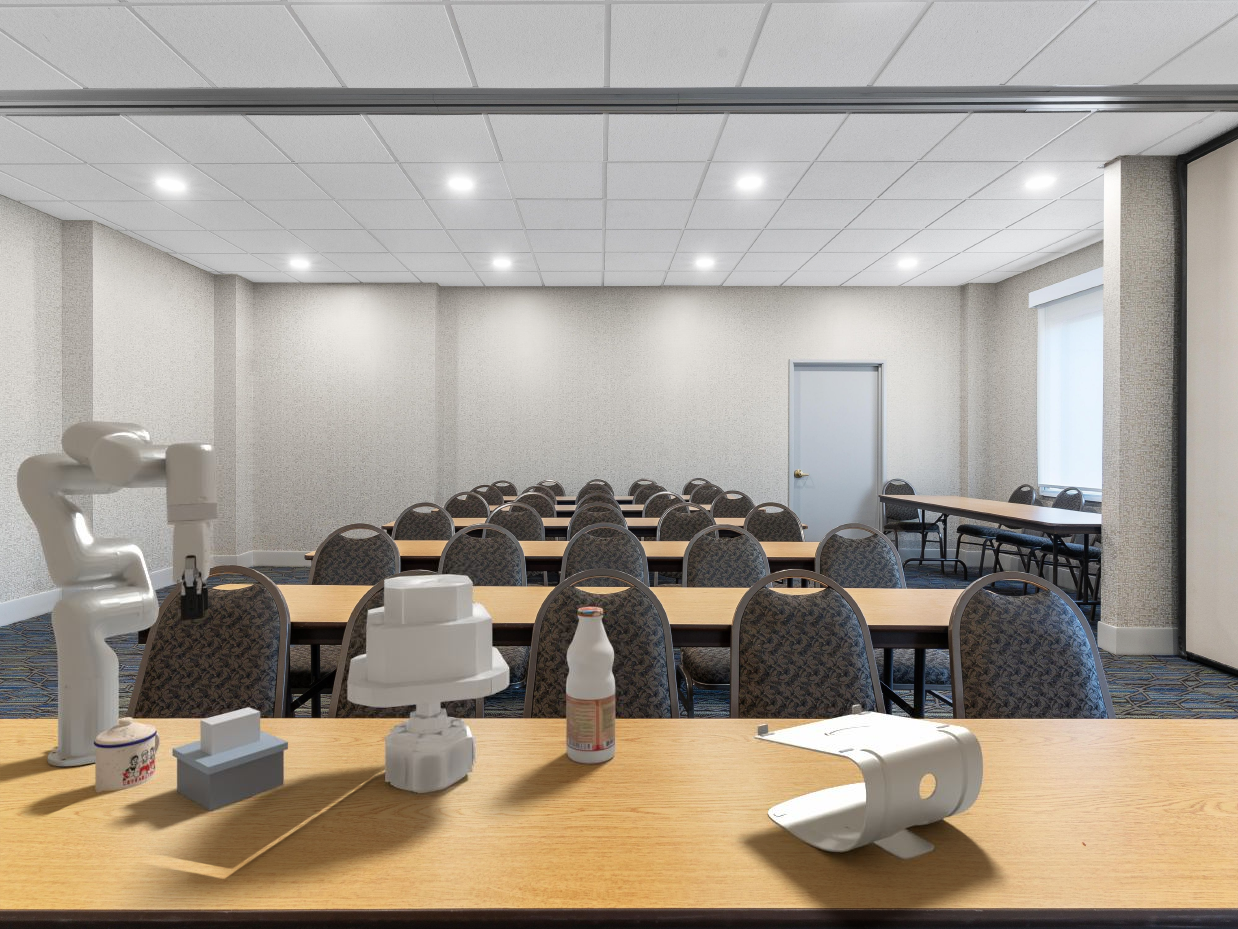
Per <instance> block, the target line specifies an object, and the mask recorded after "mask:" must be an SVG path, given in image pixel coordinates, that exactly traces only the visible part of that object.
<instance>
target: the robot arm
mask: <svg viewBox="0 0 1238 929" xmlns="http://www.w3.org/2000/svg"><path fill="white" fill-rule="evenodd" d="M150 434H151V433H149V432H148V430H147V429H146V428H145V427H144V426H142V425H140V424H137V423H133V422H132V423H131V422H117V421H101V420H100V421H97V420H95V421H94V420H89V421H88V420H87V421H79V422H77V423H74V424H73V425H71V426H69V427H68V428H66V430H64V432H63V434H62V435H61V436H62V437H61V440H60V441H61V447H62V449H63V452H52V453H51V452H50V453H49V452H48V453H42V454H41V453H40V454H37V455H36V454H34V455H32V456H30V457H27V458H26V459H24V460H23V461H22V462H21V464H19V466H18V470H17V473H16V474H17V475H16V488H17V492H18V497H19V499H20V502H21V504H22V506H23V508H24V510H25V511H26V513H27V514H28V516H29V518H30V519H31V521H32V522H33V524H34V526H35V528H36V531H37V533H38V537H39V542H40V545H41V549H42V553H43V556H44V559H45V560H44V561H45V564H46V568H47V571H48V573H49V577H50V579H51V581H52V583H53V584H54V585H55V586H56V587H57V588H60V589H62V590H63V589H64V590H65V589H66V590H75V589H85V588H93V587H101V586H109V585H113V586H114V587H104V588H98V589H96V588H95V589H89V590H83V591H77V592H74V593H70V594H67V595H65V596H63V597H62V598H60V599H59V600H57V602H56V603H55V604H54V606H53V607H52V610H51V626H52V628H53V635H54V638H55V645H56V651H57V748H55V749H53V750H51V751H50V752H49V753H48V754H47V762H48V764H49V765H51V766H55V767H73V766H74V767H77V766H83V765H89V764H94V763H95V745H94V741H95V738H96V737H97V736H98V735H99V734H101V733H102V732H104V731H107V730H110V729H111V728H112V727H114V726H116V725H118V724H119V720H120V719H119V714H120V712H119V710H120V708H119V706H120V705H119V702H120V700H119V698H120V694H119V692H120V689H119V688H120V686H119V685H120V683H119V681H120V680H119V679H120V677H119V676H120V675H119V672H120V671H119V670H120V668H119V657H118V656H117V654H116V652H115V650H113V649H112V647H110V646H109V644H107V642H106V641H105V639H107V638H111V637H113V636H120V635H125V634H130V633H136V632H141V631H144V630H147V629H149V628H151V627H152V626H153V625H154V624H155V623H156V622H157V619H158V618H159V611H160V610H159V609H160V606H159V600H158V597H157V592H156V589H155V586H154V582H153V578H152V575H151V572H150V569H149V566H148V563H147V560H146V557H145V553H144V551H143V549H142V548H141V546H140V545H139V544H138V542H136V541H135V540H133V539H131V538H128V537H109V538H108V537H106V538H100V537H97V536H96V535H95V533H94V531H93V526H92V523H91V520H90V518H89V517H88V515H87V514H86V513H85V512H84V511H83V510H82V509H81V508H80V507H78V505H76V504H75V503H74V502H72V501H70V500H68V499H67V498H66V496H81V495H82V496H83V495H85V496H87V495H89V496H90V495H109V494H110V495H111V494H115V493H117V492H120V491H121V490H123V489H124V488H125V489H140V488H141V489H142V488H165V490H166V492H165V493H166V494H165V496H166V500H165V501H166V525H173V533H172V534H173V536H172V583H174V584H179V583H180V582H181V589H180V591H181V593H180V594H181V595H180V597H179V598H180V619H181V620H182V621H189V620H197V619H200V620H201V619H203V618H204V616H205V611H208V610H209V587H208V586H207V579H208V578H209V576H210V570H211V554H212V552H211V547H212V546H211V523H218V522H219V521H218V517H219V514H218V512H219V511H218V493H217V492H218V489H217V488H218V486H217V485H218V484H217V454H216V449H215V447H214V445H211V444H210V443H205V442H178V443H172V444H153V440H152V437H151V435H150Z"/></svg>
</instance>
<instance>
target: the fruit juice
mask: <svg viewBox="0 0 1238 929" xmlns="http://www.w3.org/2000/svg"><path fill="white" fill-rule="evenodd" d="M603 617H604V609H603V608H602V607H597V606H583V607H580V608H577V618H578V624H577V627H576V629H575V634H574V636H573V639H572V640H571V643H570V644H569V646H568V648H567V652H566V661H567V665H568V668H569V670H568V675H567V678H566V685H565V696H566V697H565V698H566V700H565V704H566V705H565V706H566V707H565V709H566V712H565V713H566V714H565V715H566V716H565V717H566V718H565V720H566V723H565V724H566V727H565V728H566V730H565V731H566V734H565V735H566V738H565V741H566V753H567V757H568V758H569V760H572V761H573V762H575V763H580V764H598V763H599V764H600V763H605V762H607V761H609V760H610V759H612V758H613V757H614V756H615V753H616V752H615V751H616V681H615V677H614V673H613V666H614V660H615V650H614V648H613V645H612V644H611V642H610V640H609V638H608V636H607V633H606V629H605V627H604V624H603V621H602V620H603Z"/></svg>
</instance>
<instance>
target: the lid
mask: <svg viewBox="0 0 1238 929" xmlns="http://www.w3.org/2000/svg"><path fill="white" fill-rule="evenodd" d="M288 749H289V742H288V741H286V740H284V739H281V738H280V737H276V736H275V735H272V734H270V733H267V732H266V731H265V732H264V731H262V730H261V711H259V710H257V709H255V708H251V707H250V706H249V707H245V708H241V709H237V710H234V711H230V712H226V713H222V714H219V715H218V714H217V715H214V716H211V717H206V718H203V719H200V740H198V741H195V742H191V743H188V744H184V745H179V746H176V747H173V748H172V756H173V757H174V758H176V759H177V758H178V759H180V760H181V761H183V762H185V763H187V764H189V765H191V766H193V767H195V768H196V769H198V770H200V771H202V772H204V773H206V774H208V775H209V774H213V773H216V772H219V771H222V770H225V769H228V768H231V767H234V766H237V765H240V764H243V763H247V762H250V761H253V760H256V759H259V758H262V757H265V756H268V755H271V754H274V753H277V752H280V751H286V750H288Z"/></svg>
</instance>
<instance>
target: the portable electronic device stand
mask: <svg viewBox="0 0 1238 929" xmlns="http://www.w3.org/2000/svg"><path fill="white" fill-rule="evenodd" d="M851 712H852V714H847V715H842V716H838V717H834V718H828V719H825V720H821V721H815V722H811V723H807V724H802V725H801V724H800V725H797V726H792V727H789V728H788V727H787V728H783V729H778V730H775V731H769V725H768V724H767V723H764V724H759V725H757V734H755V735H754V739H755V740H760V741H765V742H769V743H774V744H778V745H781V746H788V747H793V748H797V749H802V750H806V751H811V752H816V753H820V754H824V755H830V756H833V757H834V756H835V757H838V758H844V759H848V760H850V761H852V762H853V763H854V764H855V765H856V766H857V767H858V768H859V770H860V771H861V774H862V777H863V782H857V783H850V784H845V785H839V786H834V787H829V788H824V789H821V790H816V791H814V792H810V793H807V794H803V795H801V796H796V797H794V798H793V797H792V798H791V799H788V800H786V801H784V802H781V803H778V804H777V805H774V806H772V807H770V808H769V809H768V811H767V816H768V817H769V819H771V821H773V823H775V824H776V825H778V826H780V827H781V828H783V830H784V829H785V831H787V832H788V833H791V834H792V835H793V836H795V837H796V838H797V839H798V840H800V841H802V842H803V843H806V844H808V845H810V846H813V847H814V848H816V849H820V850H822V851H827V852H834V853H844V852H848V851H851V850H854V849H857V848H860V847H863V846H866V845H868V844H872V845H874V846H876V847H878V848H879V849H882V850H883V851H885V852H886V853H889V854H891V855H892V856H894V857H896V858H898V859H901V860H910V859H914V858H917V857H921V856H923V855H925V854H928V853H930V852H933V851H934V849H935V846H934V844H933V843H931V842H930V841H928V840H926V839H925V838H923V837H921V836H919V835H917V834H916V833H914V832H912V831H910V830H908V829H907V828H910V827H913V826H924V825H929V824H934V823H935V822H938V821H942V820H944V819H946V818H950V817H954V816H956V815H958V814H962V813H964V812H966V811H968V810H969V809H970V808H971V807H972V806H973V805H974V804H975V803H976V802H977V799H978V798H979V795H980V793H981V789H982V784H983V778H984V777H983V776H984V761H983V759H984V758H983V750H982V747H981V743H980V742H979V739H978V737H977V736H976V735H975V734H974V732H973V731H971V730H969V729H968V728H966V727H963V726H958V725H953V724H946V723H940V722H934V721H928V720H923V719H917V718H911V717H905V716H898V715H892V714H886V713H880V712H875V711H862V705H861V704H855V705H852V706H851ZM926 775H932V776H933V777H934V780H935V786H934V790H933V791H932V793H931V794H930V795H929V796H928V797H926V798H922V797H921V794H920V786H921V782H922V779H924V777H925V776H926Z"/></svg>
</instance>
